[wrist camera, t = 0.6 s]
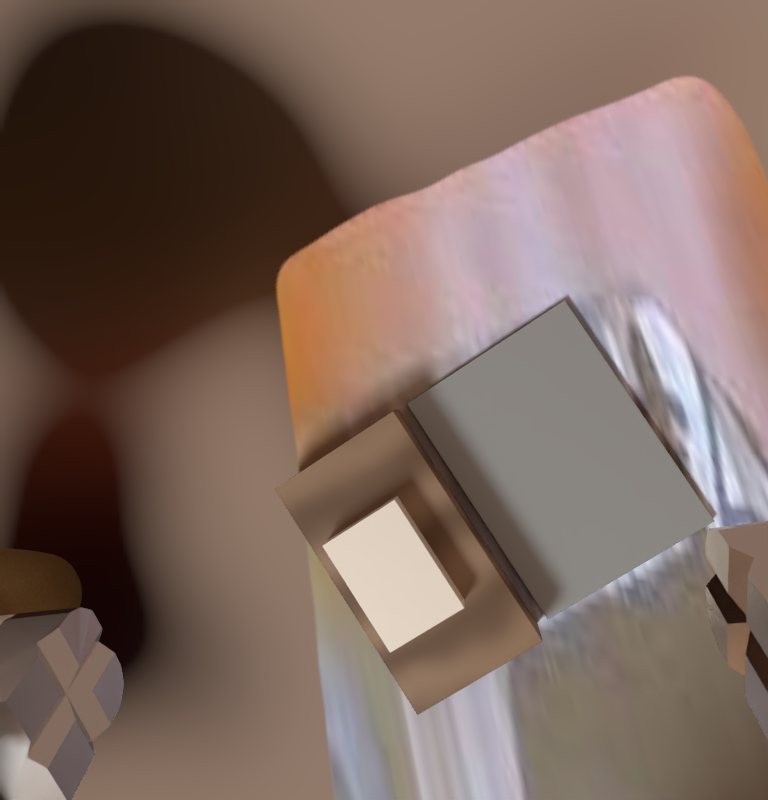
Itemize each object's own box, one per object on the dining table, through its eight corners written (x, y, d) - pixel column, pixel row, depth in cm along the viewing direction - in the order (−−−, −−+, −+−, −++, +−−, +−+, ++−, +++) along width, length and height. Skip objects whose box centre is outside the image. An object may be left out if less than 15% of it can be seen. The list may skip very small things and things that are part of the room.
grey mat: (712, 519, 53) (714, 520, 53) (547, 617, 55) (547, 619, 55) (563, 301, 54) (564, 300, 54) (407, 403, 56) (406, 403, 56)
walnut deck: (537, 623, 55) (542, 641, 51) (421, 692, 57) (417, 714, 53) (398, 409, 56) (392, 411, 52) (287, 482, 58) (274, 488, 54)
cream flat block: (464, 599, 52) (464, 607, 50) (392, 642, 53) (390, 652, 51) (397, 495, 53) (394, 499, 51) (327, 540, 53) (322, 545, 51)
